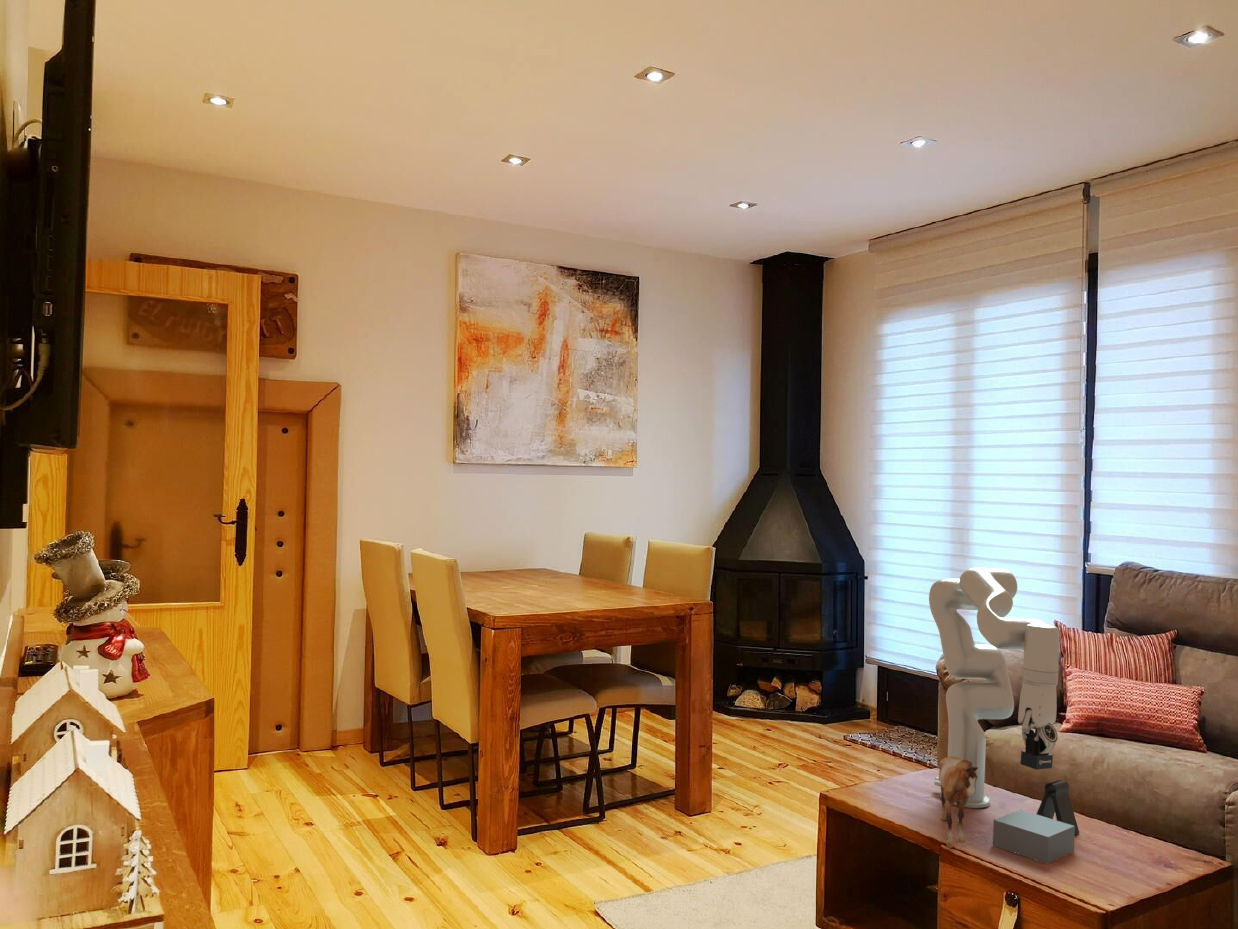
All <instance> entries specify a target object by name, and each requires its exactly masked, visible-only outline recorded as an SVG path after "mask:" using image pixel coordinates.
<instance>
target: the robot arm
mask: <svg viewBox="0 0 1238 929" xmlns="http://www.w3.org/2000/svg"><path fill="white" fill-rule="evenodd" d="M1017 592H1018V582H1017V578H1016V577H1015V575H1014V574H1013V573H1012V572H1011V571H1010V570H1008V569H1005V568H993V567H991V568H989V567H974V568H973V567H971V568H968V569H967V570H965V571H964V572H962V573H961V575H960V576H959V578H943V579H939V580H937V581H935V582H933V584H931V587H930V588H929V593H928V604H929V608H930V612H931V615H932V617H933V620H934V622H935V624H936V627H937V630H938V632H939V638H940V645H941V650H942V655H943V659H944V660H943V661H944V664H945V669H946V671H947V673H948V675H949V676H950V677H952V678H955V679H964V680H965V679H966V680H983V681H984V682H974V681H973V682H971V681H968V682H967V681H965V682H964V681H963V682H956V683H954V684H951V685H950V686H949V687H948V688H947V690H946V694H945V703H946V710H947V721H948V724H947V725H948V730H947V731H948V733H947V734H948V735H947V736H948V737H947V738H948V739H947V757H951V756H952V757H958V758H961V759H963V760H968V761H971V762H972V766H973V767H978V769H977V770H975V773H976V775H977V776H978V777H977V779H976V781H975V784H974V788H975V794H974V795H973V796H969V798H968V801H967V803H966V805H965V807H964V808H969V809H982V808H987V807H989V805H990V804H991V803H990V802H991V800H990V798H989V797H987V795H985V779H986V778H985V776H986V774H985V772H986V771H985V770H986V752H987V751H986V749H987V746H986V743H987V742H986V740H987V738H986V733H985V731H984V730H983V728H982V726H981V725H980V723H979V722H978V721H979V720H1005V719H1009V718H1010V717H1011V716H1012V715H1013V712H1014V708H1015V699H1014V695H1013V694H1014V693H1013V689H1012V685H1011V680H1010V674H1009V669H1008V666H1007V661H1006V658H1005V656H1004V654H1003V652H1002V650H1023V664H1022V666H1023V667H1022V670H1023V671H1022V685H1021V691H1020V695H1019V696H1020V697H1019V705H1018V717H1017V722H1018V724H1019V725H1021V731H1022V730H1023V731H1024V732H1025V738H1026V746H1025V747H1024V748H1025V750H1024V751H1025V754H1026V755H1027V753H1029V754H1033V755H1037V756H1040V752H1043V751H1044V750H1045V749H1046V747H1047V746H1045V743H1044V741H1043V740H1042V738H1041V737H1040V735H1039V729H1040V728H1041V727H1043V726H1046V724H1047V723H1051V724H1052V725H1053V726H1054V724H1055V722H1056V720H1057V710H1058V709H1057V708H1058V707H1057V697H1058V696H1057V695H1058V694H1057V686H1058V684H1059V683H1058V682H1059V663H1060V662H1059V660H1060V659H1059V658H1060V657H1059V656H1060V640H1061V638H1060V637H1061V635H1060V634H1061V632H1060V630H1059V628H1058V626H1056V625H1053V624H1048V623H1046V622H1044V621H1042V620H1040V619H1037V618H1025V617H1024V618H1023V617H1006V616H1007V615H1008V614H1009V613H1010V612H1011V611H1012V608H1013V604H1014V601H1013V599H1014V598H1015V596H1016V595H1017ZM958 610H962V611H963V610H966V611H977V613H976V624H977V627H978V631H979V633H980V634H981V635H982V636H983V638H984V639H985V640H986V641H987V642H988V643H989V644H982V643H980V644H979V643H976V642H975V641H974V637H973V633H972V629H971V626H970V625H969V622H968V621H967V620H966V618H964V617H963V616H962V615H961V614H960V613H959V611H958ZM1000 649H1001V650H1000ZM1032 724H1033V725H1032ZM1047 754H1050V752H1049V753H1047ZM933 784H934V786H936V787H940V788H941V783H940V780H939V776H936V777H935V779H934V783H933ZM939 798H940V799H941V800H942V798H941V791H940V793H939ZM953 805H954V806H957V802H955V803H954V804H953ZM953 805H952V806H953Z"/></svg>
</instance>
